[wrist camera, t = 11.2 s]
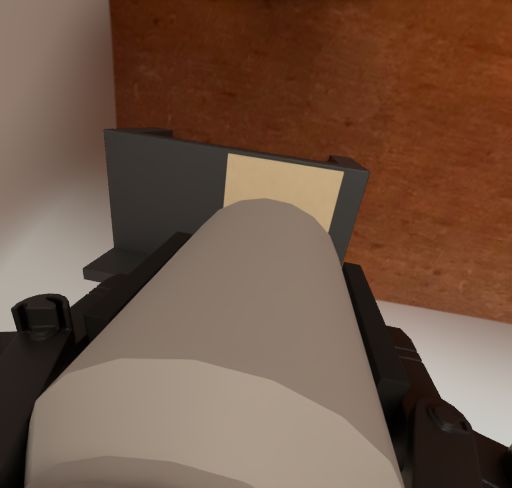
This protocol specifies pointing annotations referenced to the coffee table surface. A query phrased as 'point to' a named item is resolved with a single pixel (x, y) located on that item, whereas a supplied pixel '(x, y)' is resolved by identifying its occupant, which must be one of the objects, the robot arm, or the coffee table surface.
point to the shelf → (211, 191)
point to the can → (223, 373)
